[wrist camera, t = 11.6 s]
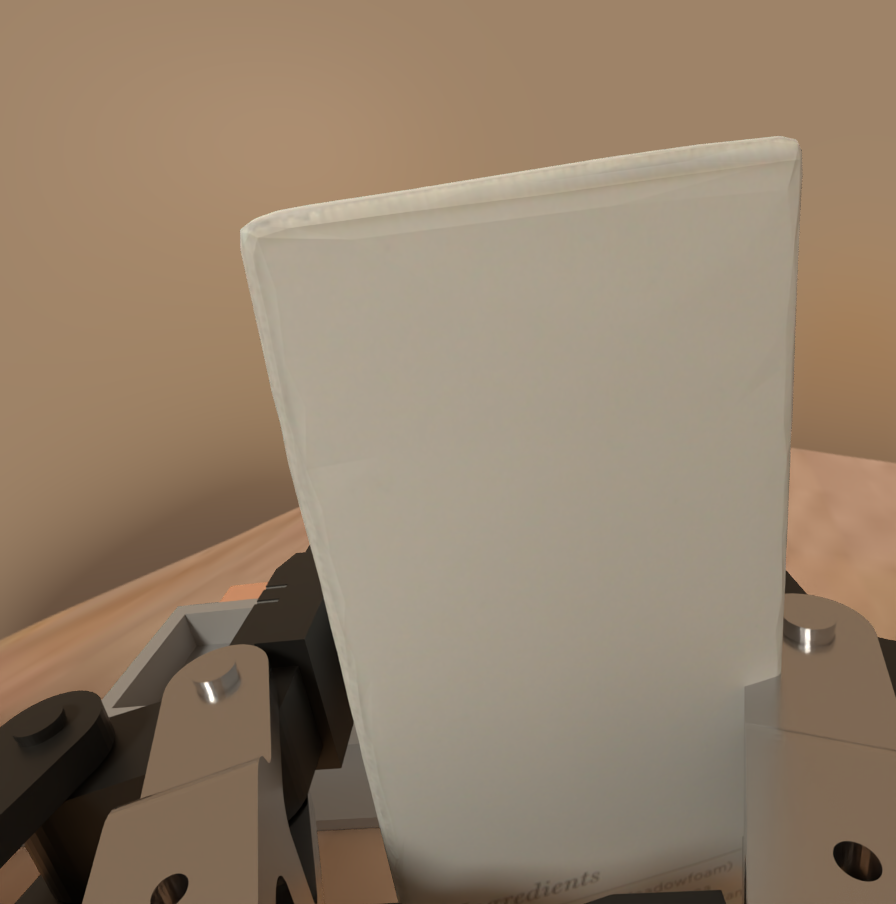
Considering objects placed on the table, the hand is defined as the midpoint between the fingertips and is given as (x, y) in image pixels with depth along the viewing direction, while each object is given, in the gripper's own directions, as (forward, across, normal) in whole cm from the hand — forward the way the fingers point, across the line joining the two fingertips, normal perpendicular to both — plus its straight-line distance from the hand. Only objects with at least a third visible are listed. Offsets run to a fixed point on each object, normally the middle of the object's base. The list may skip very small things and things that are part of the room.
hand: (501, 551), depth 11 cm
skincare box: (-3, 0, +6) cm, 7 cm away
